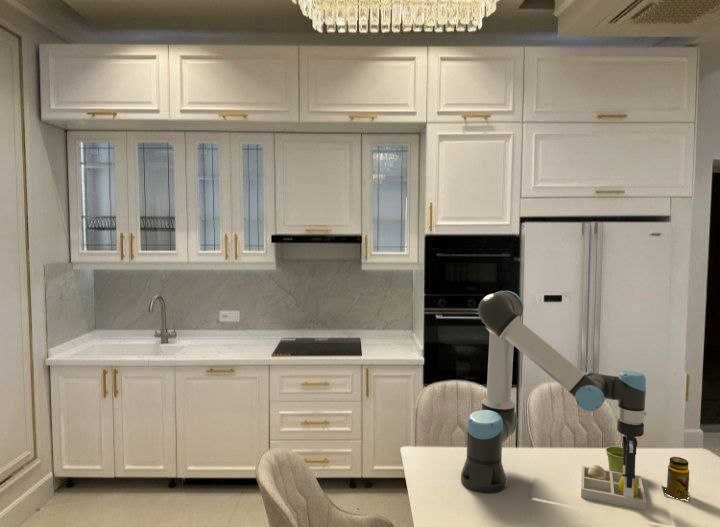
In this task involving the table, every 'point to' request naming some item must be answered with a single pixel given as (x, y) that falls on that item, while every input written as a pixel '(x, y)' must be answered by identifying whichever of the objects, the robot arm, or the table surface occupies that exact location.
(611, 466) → the plant pot
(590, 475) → the beige rounded ball
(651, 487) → the table surface
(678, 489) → the condiment
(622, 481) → the lemon
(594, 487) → the tray
